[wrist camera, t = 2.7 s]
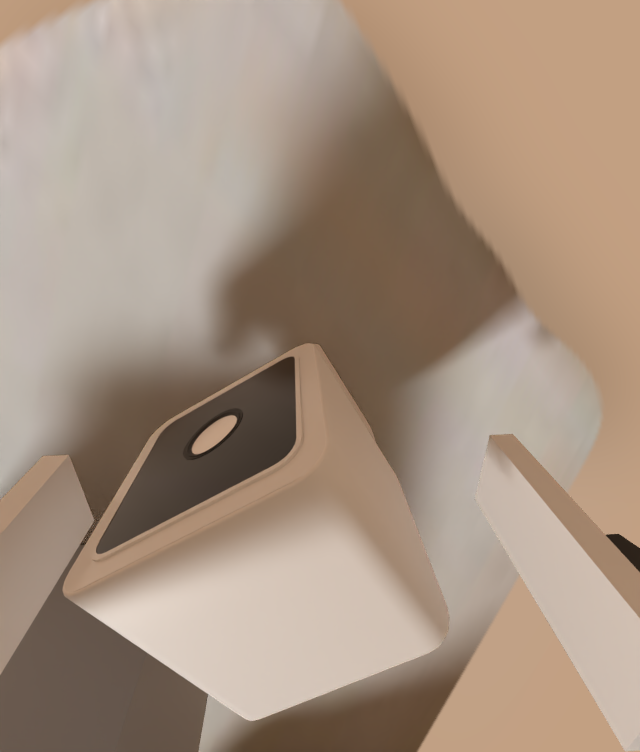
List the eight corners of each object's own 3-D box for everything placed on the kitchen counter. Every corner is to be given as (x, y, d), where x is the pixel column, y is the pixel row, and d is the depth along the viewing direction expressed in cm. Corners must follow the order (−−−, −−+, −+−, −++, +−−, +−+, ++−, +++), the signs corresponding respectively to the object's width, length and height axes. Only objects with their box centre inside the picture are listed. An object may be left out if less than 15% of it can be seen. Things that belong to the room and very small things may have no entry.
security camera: (307, 305, 15) (331, 461, 6) (381, 427, 18) (473, 658, 9) (182, 379, 16) (42, 607, 7) (271, 483, 19) (252, 742, 10)
